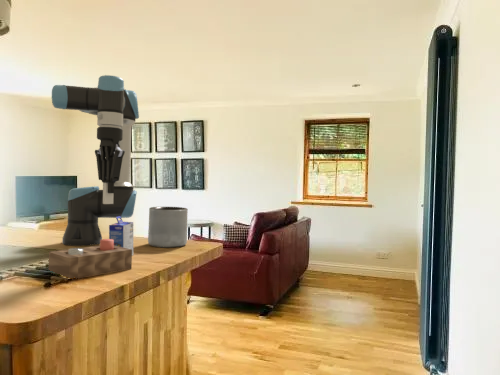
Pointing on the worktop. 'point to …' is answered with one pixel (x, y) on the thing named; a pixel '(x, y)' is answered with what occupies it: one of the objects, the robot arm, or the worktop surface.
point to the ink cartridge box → (122, 234)
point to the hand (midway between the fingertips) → (108, 203)
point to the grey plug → (75, 251)
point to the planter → (167, 227)
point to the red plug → (106, 244)
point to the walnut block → (90, 261)
